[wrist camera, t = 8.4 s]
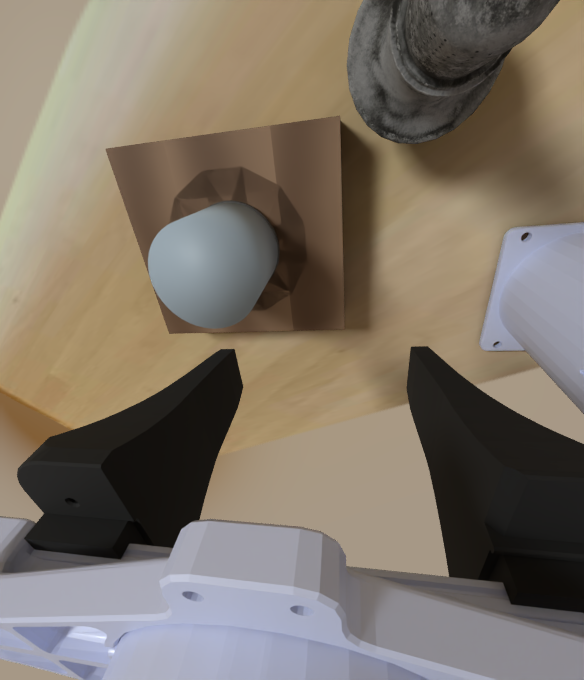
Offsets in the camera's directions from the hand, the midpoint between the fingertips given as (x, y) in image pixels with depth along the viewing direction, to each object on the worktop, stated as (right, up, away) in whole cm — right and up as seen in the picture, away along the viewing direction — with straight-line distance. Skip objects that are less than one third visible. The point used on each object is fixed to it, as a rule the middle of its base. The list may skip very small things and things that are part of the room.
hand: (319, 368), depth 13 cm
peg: (-4, +8, +7) cm, 11 cm away
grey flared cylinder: (+4, +14, +2) cm, 15 cm away
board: (-4, +8, +7) cm, 11 cm away
